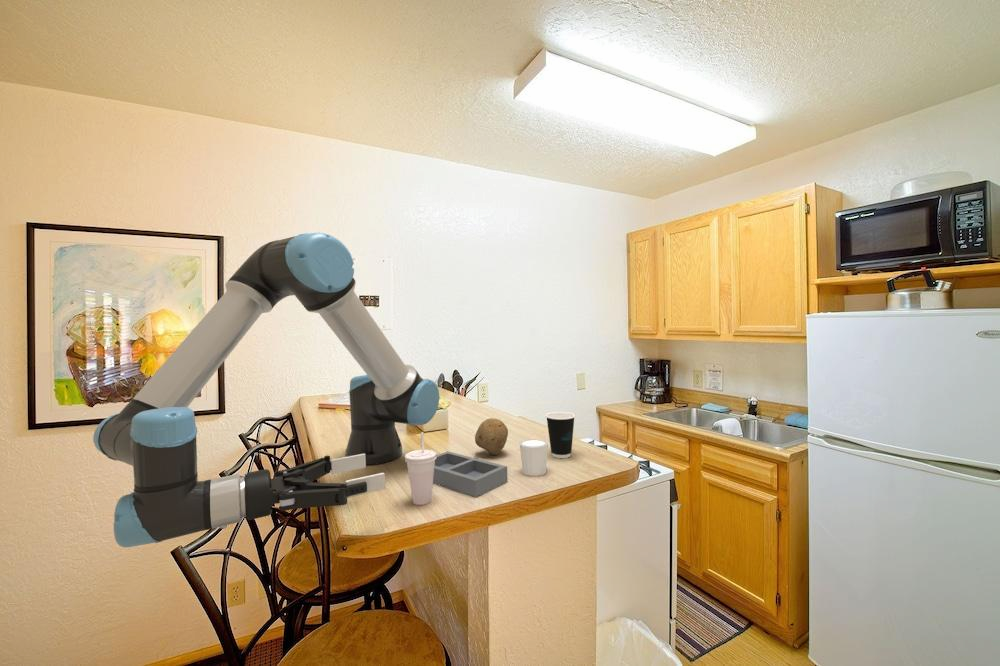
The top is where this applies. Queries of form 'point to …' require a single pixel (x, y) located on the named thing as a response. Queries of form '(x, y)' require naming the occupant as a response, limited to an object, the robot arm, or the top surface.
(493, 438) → the potato
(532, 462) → the white rounded cylinder
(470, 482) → the divided tray
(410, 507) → the top surface
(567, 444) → the dixie cup
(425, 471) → the smoothie
